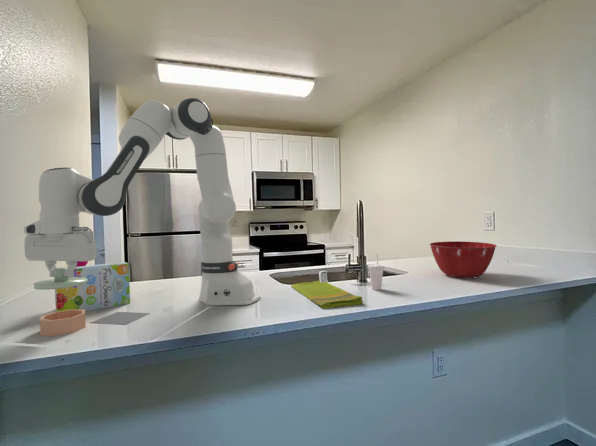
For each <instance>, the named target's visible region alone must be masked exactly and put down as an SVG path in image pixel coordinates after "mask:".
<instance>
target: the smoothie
mask: <svg viewBox="0 0 596 446" xmlns="http://www.w3.org/2000/svg"><path fill="white" fill-rule="evenodd" d="M367 268H368V271H369V272H368V274H369V278H370V279H369V280H370V287H371V290H373V291H381V290H382V284H383V276H384V269H385V265H384V264H379V254H376V263H375V264H369V265H367Z"/></svg>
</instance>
